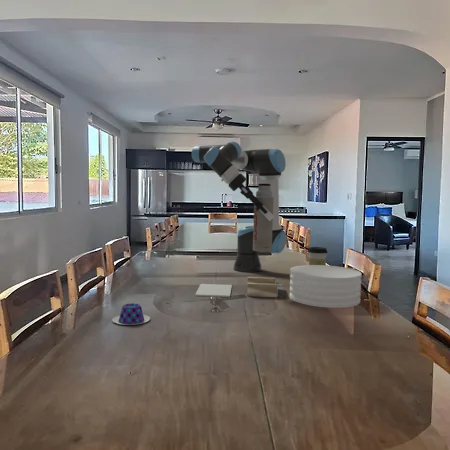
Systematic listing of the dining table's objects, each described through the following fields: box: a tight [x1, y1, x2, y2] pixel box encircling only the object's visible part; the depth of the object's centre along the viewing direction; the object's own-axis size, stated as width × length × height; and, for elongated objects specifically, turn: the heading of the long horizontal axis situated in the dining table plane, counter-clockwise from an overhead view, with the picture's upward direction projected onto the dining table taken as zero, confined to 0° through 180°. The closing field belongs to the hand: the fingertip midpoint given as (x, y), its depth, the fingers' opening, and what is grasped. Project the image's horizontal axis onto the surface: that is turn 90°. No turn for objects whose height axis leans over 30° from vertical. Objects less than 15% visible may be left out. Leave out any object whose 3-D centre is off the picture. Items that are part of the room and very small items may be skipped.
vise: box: [246, 276, 285, 298], centre depth 180 cm, size 15×15×5 cm
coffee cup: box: [307, 246, 329, 265], centre depth 215 cm, size 10×10×15 cm
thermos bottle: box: [252, 183, 274, 253], centre depth 178 cm, size 8×8×28 cm
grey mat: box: [195, 283, 233, 298], centre depth 181 cm, size 20×14×1 cm
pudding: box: [111, 302, 151, 326], centre depth 137 cm, size 12×12×5 cm
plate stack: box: [288, 264, 363, 309], centre depth 172 cm, size 28×28×12 cm
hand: (271, 218), depth 178 cm, fingers closed on thermos bottle, 8 cm apart
